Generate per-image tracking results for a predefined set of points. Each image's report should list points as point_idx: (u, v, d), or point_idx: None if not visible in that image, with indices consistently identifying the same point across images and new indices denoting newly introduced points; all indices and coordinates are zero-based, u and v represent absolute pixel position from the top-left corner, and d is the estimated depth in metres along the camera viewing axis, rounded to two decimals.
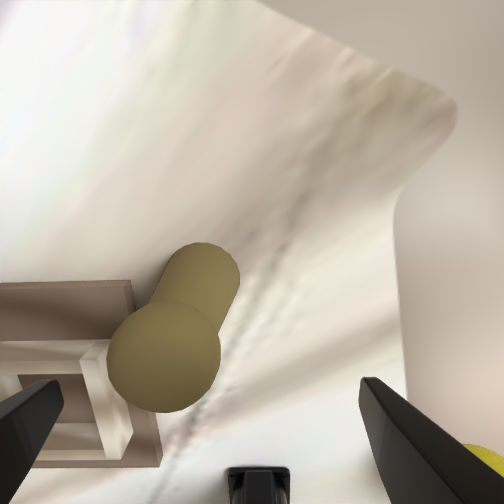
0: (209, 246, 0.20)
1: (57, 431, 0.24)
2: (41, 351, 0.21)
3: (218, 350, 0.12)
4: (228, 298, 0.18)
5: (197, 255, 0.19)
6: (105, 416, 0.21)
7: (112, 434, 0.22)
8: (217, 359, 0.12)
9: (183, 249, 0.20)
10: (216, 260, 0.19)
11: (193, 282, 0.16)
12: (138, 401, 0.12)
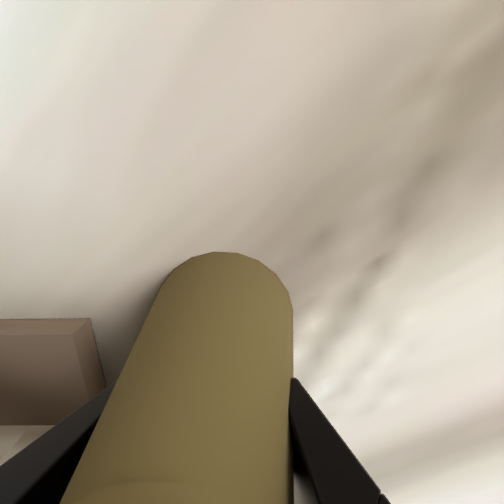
0: (240, 260, 0.10)
1: None
2: None
3: None
4: None
5: (219, 282, 0.09)
6: None
7: None
8: None
9: (189, 265, 0.10)
10: (258, 291, 0.09)
11: (221, 367, 0.06)
12: None
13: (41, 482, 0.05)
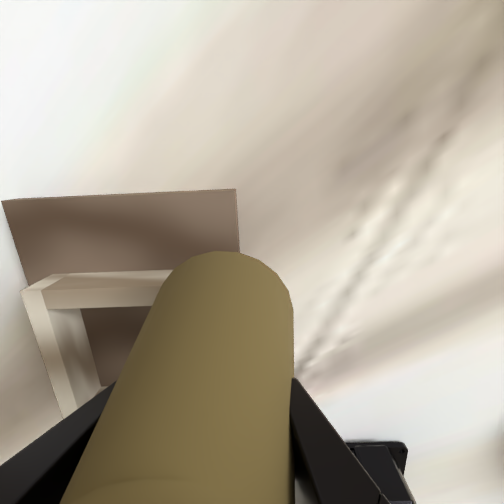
0: (240, 259, 0.10)
1: None
2: (124, 279, 0.16)
3: None
4: None
5: (219, 281, 0.09)
6: None
7: None
8: None
9: (189, 264, 0.10)
10: (259, 290, 0.09)
11: (221, 365, 0.06)
12: None
13: (41, 482, 0.05)
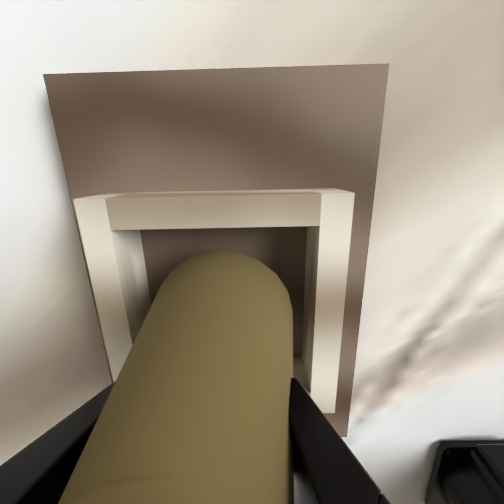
0: (240, 259, 0.10)
1: None
2: (221, 193, 0.11)
3: None
4: None
5: (218, 281, 0.09)
6: (334, 324, 0.11)
7: (336, 363, 0.12)
8: None
9: (188, 264, 0.10)
10: (258, 290, 0.09)
11: (220, 366, 0.06)
12: None
13: (41, 482, 0.05)
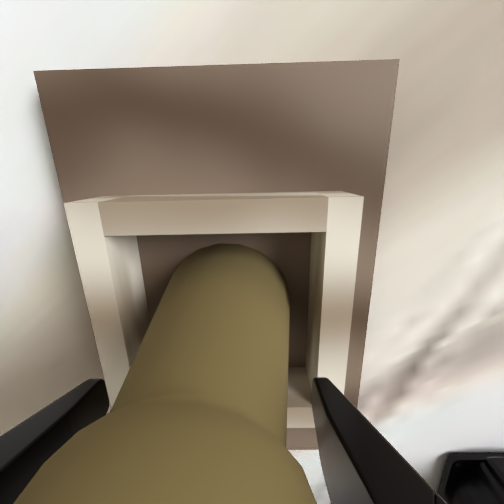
0: (242, 249, 0.12)
1: None
2: (222, 196, 0.10)
3: None
4: (288, 349, 0.09)
5: (224, 266, 0.10)
6: (340, 335, 0.11)
7: (343, 375, 0.11)
8: None
9: (197, 254, 0.12)
10: (258, 274, 0.10)
11: (227, 326, 0.07)
12: None
13: None
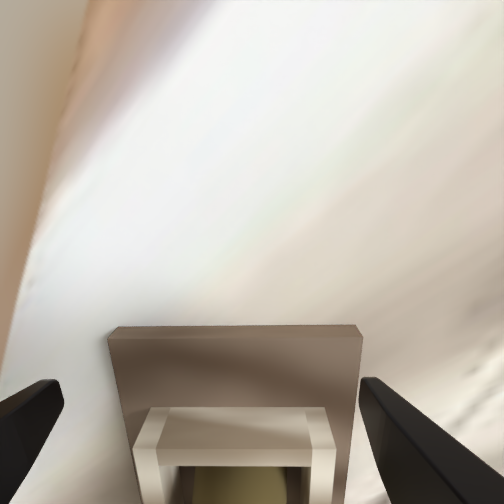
0: None
1: None
2: (239, 428, 0.15)
3: None
4: None
5: (240, 480, 0.14)
6: None
7: None
8: None
9: None
10: (264, 482, 0.15)
11: None
12: None
13: None
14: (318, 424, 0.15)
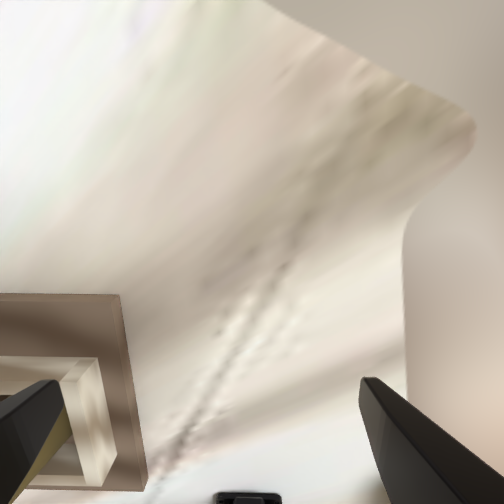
0: None
1: None
2: (18, 369, 0.19)
3: None
4: (38, 456, 0.18)
5: None
6: (86, 441, 0.20)
7: (93, 460, 0.20)
8: None
9: None
10: None
11: None
12: None
13: None
14: (80, 367, 0.19)
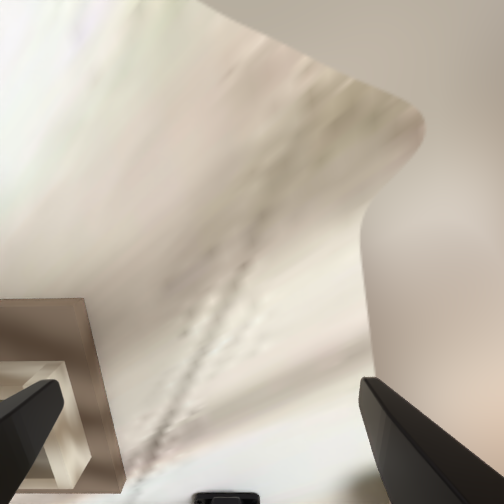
0: None
1: None
2: None
3: None
4: None
5: None
6: (53, 444, 0.20)
7: (63, 463, 0.21)
8: None
9: None
10: None
11: None
12: None
13: None
14: (45, 371, 0.20)
